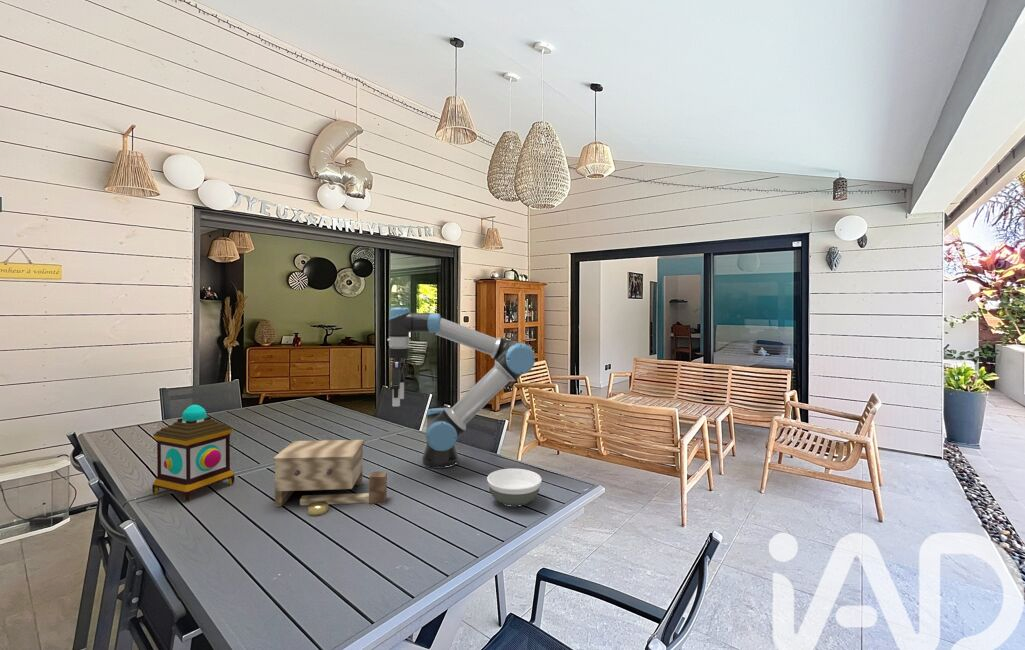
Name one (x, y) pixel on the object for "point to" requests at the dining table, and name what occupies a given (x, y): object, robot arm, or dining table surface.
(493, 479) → the bowl
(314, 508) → the puck
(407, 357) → the robot arm
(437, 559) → the dining table surface
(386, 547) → the dining table surface
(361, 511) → the dining table surface
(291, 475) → the cabinet
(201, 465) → the decorative lantern
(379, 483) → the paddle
